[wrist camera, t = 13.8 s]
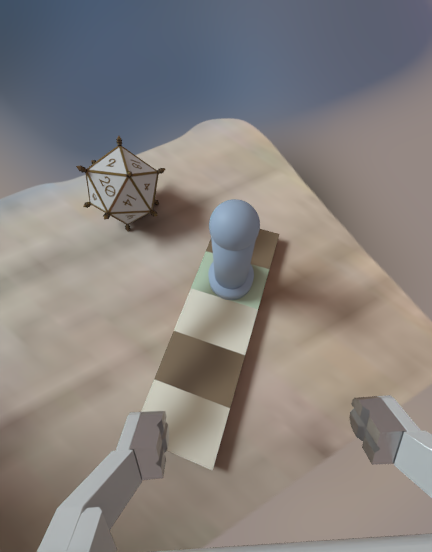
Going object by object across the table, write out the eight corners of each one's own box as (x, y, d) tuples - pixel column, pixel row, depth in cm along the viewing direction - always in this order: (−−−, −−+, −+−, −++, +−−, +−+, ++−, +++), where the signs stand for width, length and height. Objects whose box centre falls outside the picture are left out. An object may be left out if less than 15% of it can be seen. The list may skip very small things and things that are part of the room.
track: (136, 433, 21) (131, 435, 20) (219, 224, 30) (219, 218, 29) (213, 465, 20) (212, 470, 19) (277, 239, 29) (279, 234, 27)
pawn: (203, 292, 25) (188, 229, 15) (217, 255, 27) (213, 175, 16) (245, 305, 24) (261, 249, 14) (257, 267, 26) (279, 191, 16)
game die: (158, 231, 34) (181, 219, 25) (88, 237, 30) (87, 225, 21) (147, 163, 33) (168, 125, 24) (74, 161, 29) (66, 115, 20)
